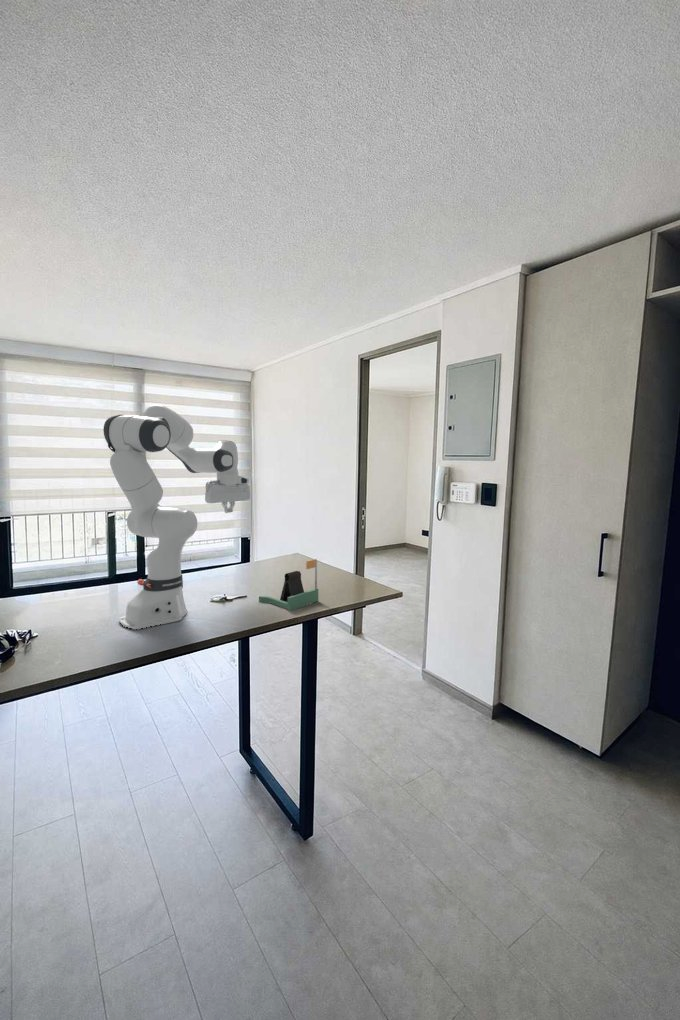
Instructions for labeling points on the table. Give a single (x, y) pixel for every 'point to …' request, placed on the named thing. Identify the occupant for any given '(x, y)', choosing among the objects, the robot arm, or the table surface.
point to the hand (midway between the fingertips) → (228, 512)
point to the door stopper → (292, 585)
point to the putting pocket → (298, 599)
